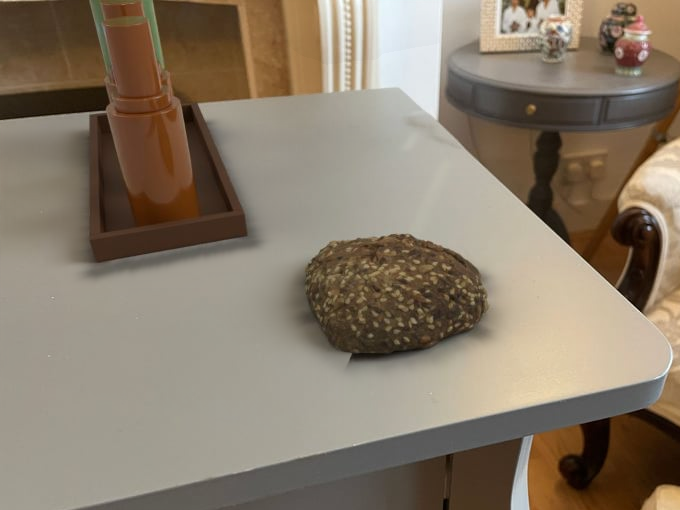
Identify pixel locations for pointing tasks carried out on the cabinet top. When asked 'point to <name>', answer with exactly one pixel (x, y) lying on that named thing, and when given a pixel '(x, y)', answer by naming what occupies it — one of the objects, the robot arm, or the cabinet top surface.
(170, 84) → the amber bottle middle
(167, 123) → the amber bottle near
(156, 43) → the green bottle
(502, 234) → the cabinet top surface
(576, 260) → the cabinet top surface
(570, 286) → the cabinet top surface
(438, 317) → the bread roll
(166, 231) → the tray
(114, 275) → the cabinet top surface
